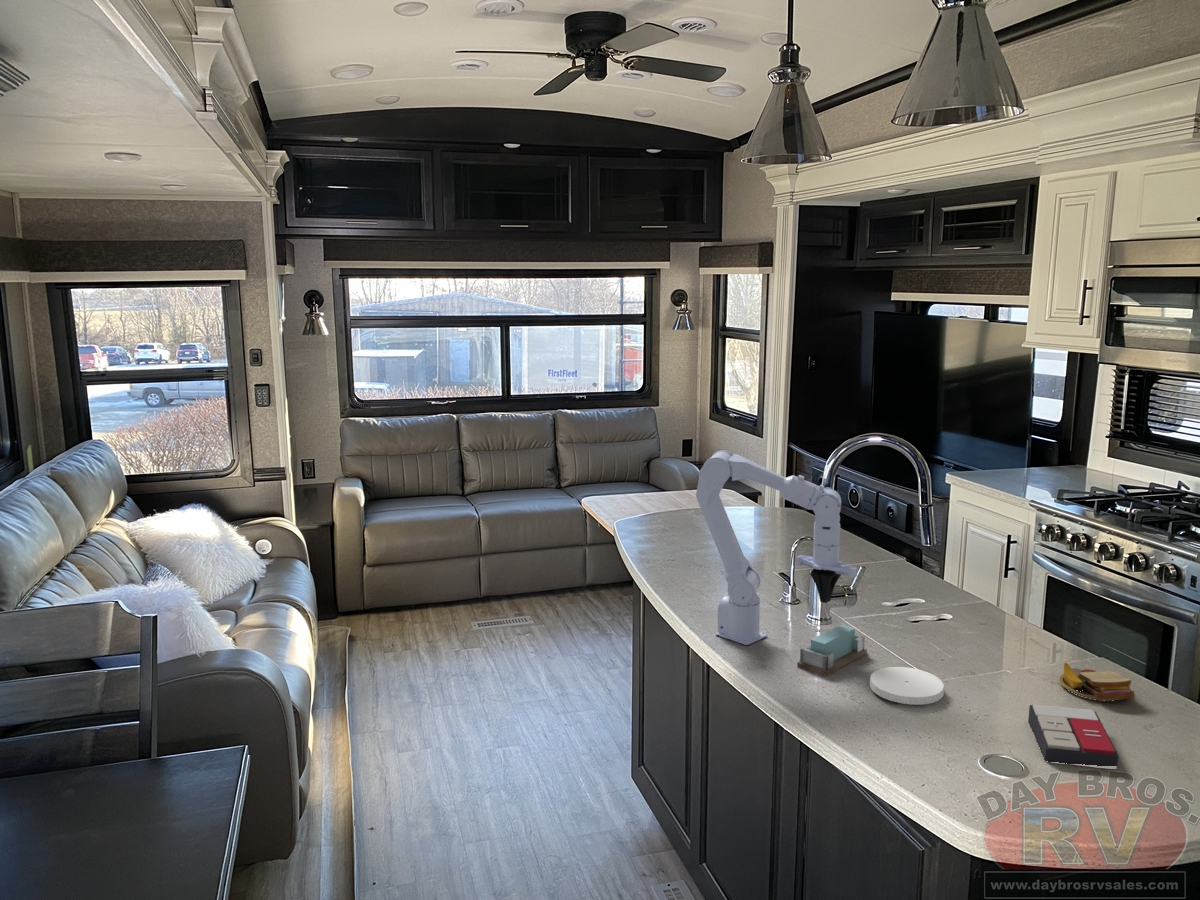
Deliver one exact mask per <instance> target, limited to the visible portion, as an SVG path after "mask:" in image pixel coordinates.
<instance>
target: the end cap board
mask: <svg viewBox="0 0 1200 900" xmlns="http://www.w3.org/2000/svg"><path fill="white" fill-rule="evenodd" d="M867 653H868V648H865V647H864V650H863V651H861V652H859V653H855V652H854V650H853V651H851V652H849V653H848V654H846V655H844V656H842V657H840V658H838V659H836V660H835V661H833V667H831V668H830V669H828V670H823V669H820V668H817V667H814V666H811V665H808V664H805V663H802V662H800V660H799V661H797V664H796V666H797V667H798V668H801V669H803V670H806V671H809V672H812V673H815V674H818V675H821V676H824V677H826V676H829V675H830V674H833V673H834V672H836V671H838V670H840V669H841V668H843V667H845V666H847V665H849V664H850V663H853V662H854V661H856V660H858V659H859V658H861V657H863V656H865V655H866V654H867Z"/></svg>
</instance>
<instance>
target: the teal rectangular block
mask: <svg viewBox="0 0 1200 900" xmlns="http://www.w3.org/2000/svg"><path fill="white" fill-rule="evenodd" d="M855 634H856V628H854V627H851V626H849V625H848V626H847V625H844V624H840V625H838V626H836V627H834V628H831V629H829V630H827V631H826V632H823V633H821V634H820V635H818V636H816V637H814V638H811V639H810V646H811V651H814V652H818V653H821V654H824V655H826V654H828V653H830V652H831V653H834V655H833V661H835V660H836V659H838V658H840V657H842V656H844V655H846V654H848V653H849V652H851V651H853V650H854V643H855Z"/></svg>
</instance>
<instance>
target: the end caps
mask: <svg viewBox="0 0 1200 900" xmlns="http://www.w3.org/2000/svg"><path fill="white" fill-rule="evenodd" d="M865 640H866V639H865V636H863V635H860V634H856V633H855V643H854V652H855V653H859V652H861V651H863V650H864V648H865ZM799 652H800V654H799V661H800V662H802V663H805V664H808V665H811V666H814V667H817V668H820V669H823V670H828V669H830V668H831V667H833V655H834V653H831V652H830V653H828V654H826V655H824V654H821V653H818V652H814V651H811V644H810V645H809V644H807V645H805V646H803V647H801V648H800V650H799Z"/></svg>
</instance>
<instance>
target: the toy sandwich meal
mask: <svg viewBox="0 0 1200 900" xmlns="http://www.w3.org/2000/svg"><path fill="white" fill-rule="evenodd" d="M1058 681H1059V683H1060V684H1061V686H1062V687H1063V689H1065V688H1066V689H1067V690H1069V691H1071V692H1073V693H1075V694H1077V695H1080V696H1083V697H1087V698H1091V699H1096V700H1105V701H1111V702H1113V701H1112V700H1119V701H1121V700H1120V699H1122V700H1124V699H1127V698H1132V697H1133V698H1134V697H1135V691H1134V690H1133V689H1132V688H1131V687H1130V686H1131V684H1132V680H1131V679H1130V678H1127V677H1124V676H1123V675H1121V674H1119V673H1117V672H1115V671H1111V670H1108V671H1106V670H1105V671H1096V670H1093V669H1087V668H1086V669H1085V668H1084V669H1083V670H1082V669H1079V668H1076V667H1075V668H1073V667H1071V666H1070V664H1069V663H1068V662H1063V673H1062V674H1061V675H1060V676H1059V677H1058ZM1066 689H1065V690H1066ZM1067 690H1066V691H1067ZM1076 690H1078V691H1076ZM1082 690H1083V691H1082ZM1069 691H1068V692H1069ZM1080 691H1081V692H1080ZM1077 695H1076V696H1077ZM1105 701H1104V702H1105Z"/></svg>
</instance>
